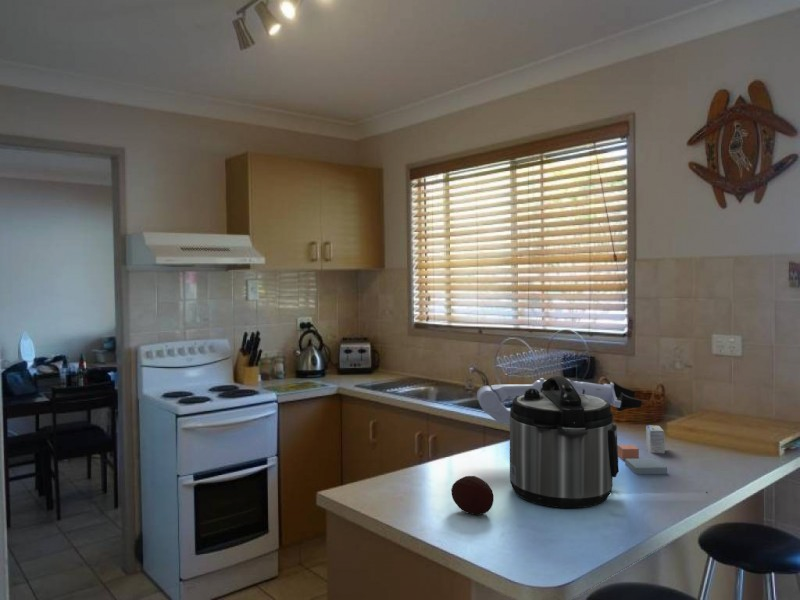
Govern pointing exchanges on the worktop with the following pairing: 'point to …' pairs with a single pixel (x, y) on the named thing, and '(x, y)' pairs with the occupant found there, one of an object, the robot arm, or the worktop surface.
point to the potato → (472, 495)
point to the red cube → (628, 452)
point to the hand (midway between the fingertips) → (637, 399)
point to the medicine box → (655, 439)
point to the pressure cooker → (562, 446)
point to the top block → (646, 466)
